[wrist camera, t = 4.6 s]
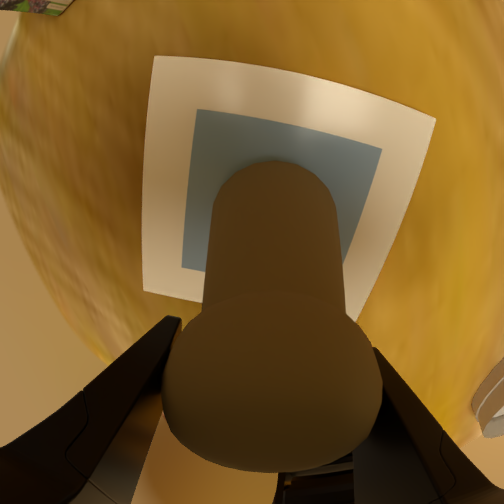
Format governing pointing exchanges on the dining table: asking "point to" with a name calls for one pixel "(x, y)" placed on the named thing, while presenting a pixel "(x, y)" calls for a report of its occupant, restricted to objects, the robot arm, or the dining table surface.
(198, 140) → the plate
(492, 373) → the dish
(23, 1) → the syrup box
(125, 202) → the dining table surface
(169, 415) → the cork
